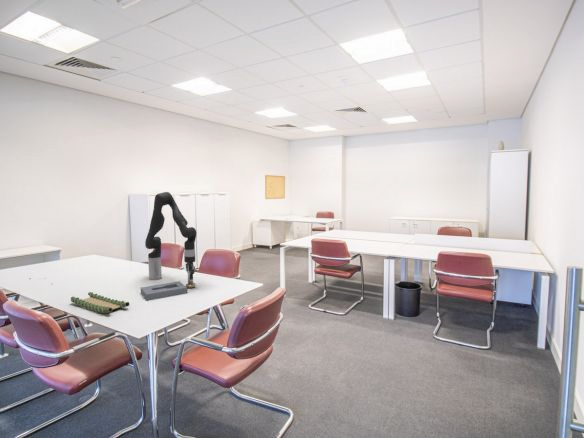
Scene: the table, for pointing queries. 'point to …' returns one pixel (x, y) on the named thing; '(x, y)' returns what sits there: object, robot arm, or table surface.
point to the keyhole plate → (163, 290)
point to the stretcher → (99, 303)
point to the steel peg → (190, 282)
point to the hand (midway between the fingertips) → (190, 278)
